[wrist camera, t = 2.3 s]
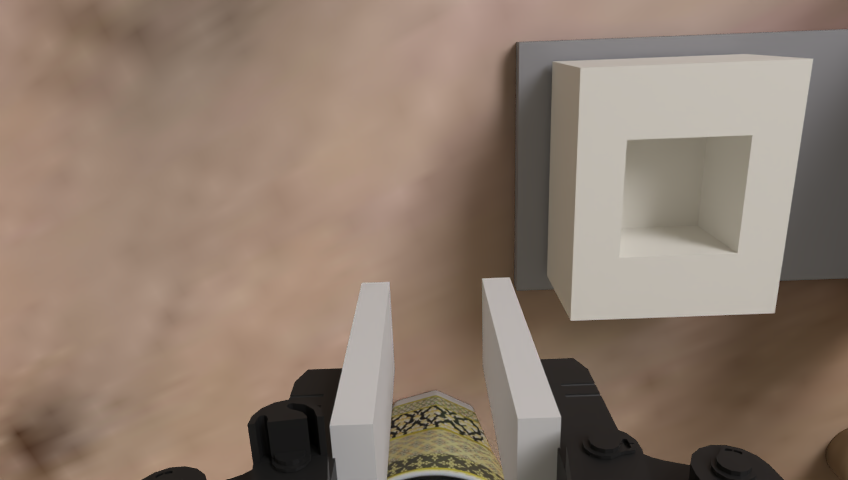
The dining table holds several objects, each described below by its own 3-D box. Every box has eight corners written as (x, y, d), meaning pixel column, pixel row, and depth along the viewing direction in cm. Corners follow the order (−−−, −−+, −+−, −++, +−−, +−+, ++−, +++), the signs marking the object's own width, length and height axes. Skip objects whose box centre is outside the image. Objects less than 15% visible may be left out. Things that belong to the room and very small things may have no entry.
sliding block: (719, 269, 37) (774, 313, 31) (546, 275, 37) (570, 320, 31) (744, 53, 33) (813, 58, 27) (552, 61, 33) (580, 67, 27)
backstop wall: (888, 300, 39) (1134, 441, 25) (514, 314, 39) (563, 462, 25) (955, -16, 33) (1317, -46, 20) (516, 2, 33) (582, -17, 20)
